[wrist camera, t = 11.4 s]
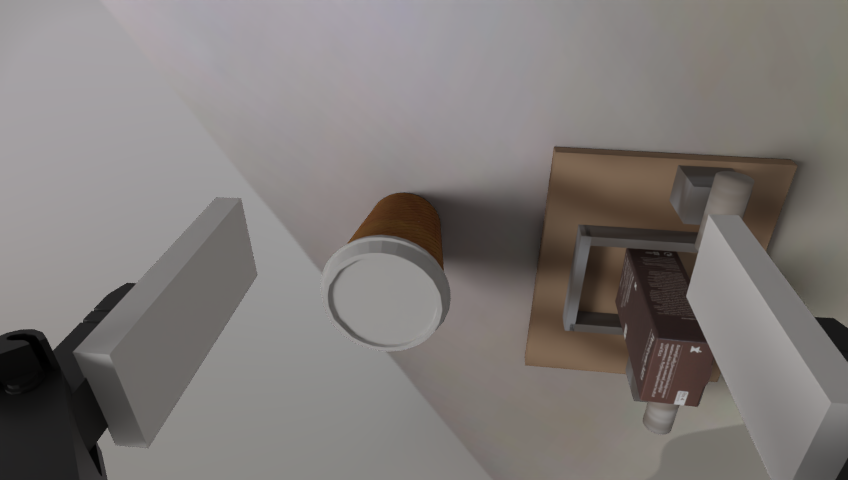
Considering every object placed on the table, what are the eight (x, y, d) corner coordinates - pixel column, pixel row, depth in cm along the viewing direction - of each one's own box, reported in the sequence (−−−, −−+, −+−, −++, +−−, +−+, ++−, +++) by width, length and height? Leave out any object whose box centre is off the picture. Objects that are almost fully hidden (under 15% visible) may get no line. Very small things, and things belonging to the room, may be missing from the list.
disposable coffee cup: (479, 211, 49) (475, 291, 38) (423, 286, 53) (406, 375, 43) (384, 154, 47) (353, 221, 37) (334, 236, 52) (294, 317, 41)
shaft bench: (555, 137, 45) (565, 175, 38) (794, 149, 43) (847, 191, 37) (523, 363, 57) (527, 421, 50) (710, 379, 55) (739, 442, 48)
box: (621, 245, 48) (656, 337, 37) (677, 248, 47) (728, 343, 37) (609, 303, 51) (638, 404, 40) (661, 307, 50) (704, 409, 40)
